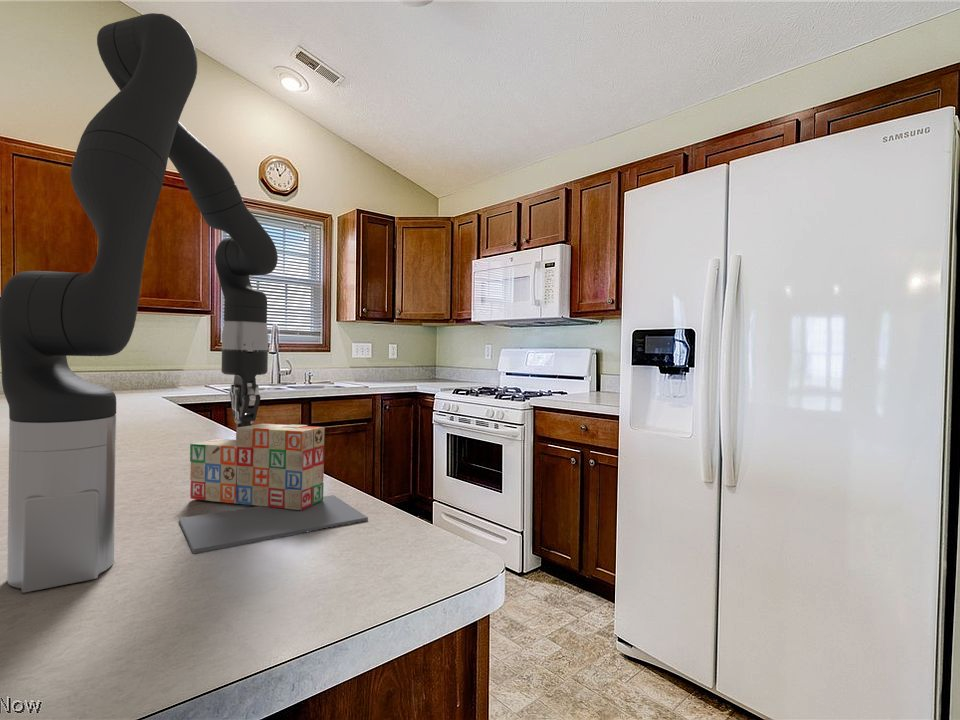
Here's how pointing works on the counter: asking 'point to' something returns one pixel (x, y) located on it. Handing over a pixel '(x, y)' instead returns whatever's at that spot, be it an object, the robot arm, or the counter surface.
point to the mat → (264, 523)
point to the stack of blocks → (261, 467)
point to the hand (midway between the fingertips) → (243, 444)
